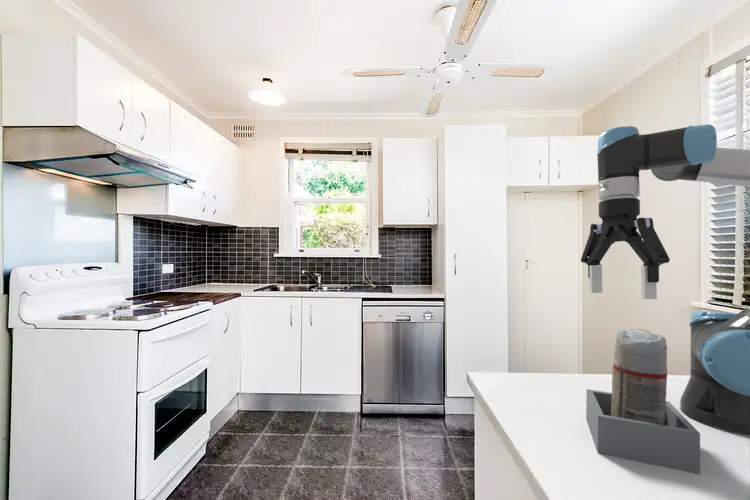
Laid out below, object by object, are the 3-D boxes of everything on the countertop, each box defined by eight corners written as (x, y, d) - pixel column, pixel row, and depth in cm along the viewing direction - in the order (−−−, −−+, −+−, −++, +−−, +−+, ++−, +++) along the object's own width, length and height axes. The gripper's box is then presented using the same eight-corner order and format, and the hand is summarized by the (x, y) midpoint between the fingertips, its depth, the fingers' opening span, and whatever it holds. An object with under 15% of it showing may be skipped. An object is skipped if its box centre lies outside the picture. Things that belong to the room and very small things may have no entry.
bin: (668, 434, 69) (668, 401, 69) (700, 474, 56) (700, 433, 56) (586, 419, 74) (586, 389, 75) (597, 452, 62) (598, 415, 62)
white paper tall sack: (668, 438, 65) (668, 331, 66) (666, 456, 59) (666, 338, 59) (613, 423, 71) (614, 324, 71) (606, 438, 65) (607, 330, 65)
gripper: (564, 207, 89) (565, 290, 88) (657, 187, 64) (660, 302, 64) (590, 208, 90) (591, 290, 90) (692, 188, 66) (694, 301, 65)
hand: (620, 295), depth 77 cm, fingers open, 13 cm apart
